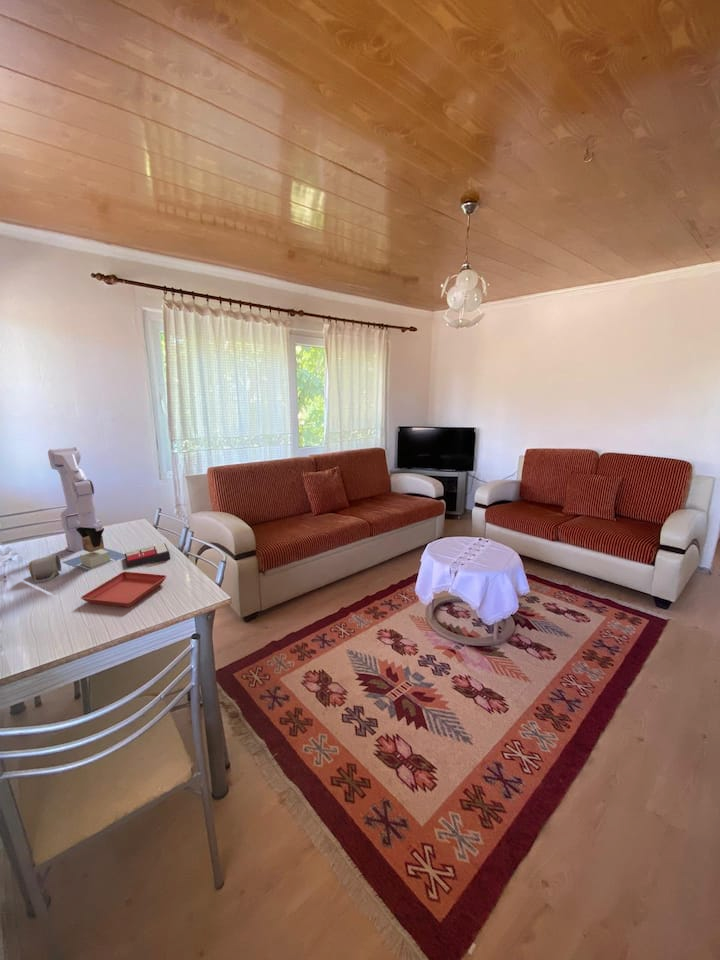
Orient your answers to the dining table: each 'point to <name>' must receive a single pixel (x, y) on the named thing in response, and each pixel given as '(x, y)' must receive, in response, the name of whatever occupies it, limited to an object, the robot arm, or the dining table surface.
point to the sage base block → (95, 558)
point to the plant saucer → (124, 589)
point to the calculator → (147, 555)
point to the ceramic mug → (45, 568)
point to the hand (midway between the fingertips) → (92, 545)
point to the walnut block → (88, 544)
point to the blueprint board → (113, 557)
